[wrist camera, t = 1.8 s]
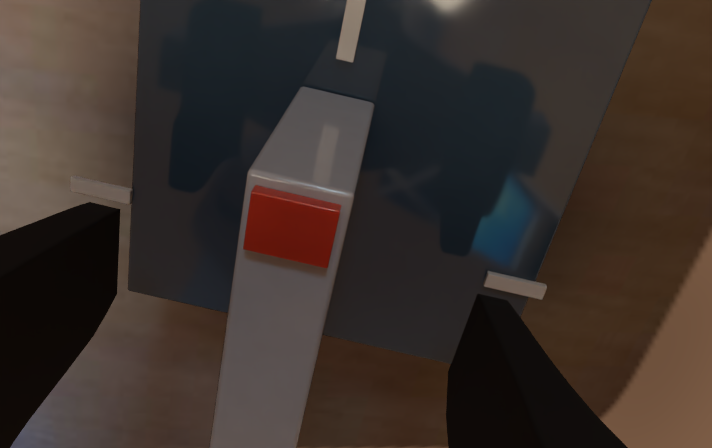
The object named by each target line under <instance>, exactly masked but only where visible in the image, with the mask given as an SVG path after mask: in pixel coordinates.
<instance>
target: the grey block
mask: <svg viewBox="0 0 712 448" xmlns="http://www.w3.org/2000/svg"><path fill="white" fill-rule="evenodd" d="M374 109H375V107H374V104H373V103H371V102H368V101H364V100H359V99H355V98H351V97H346V96H342V95H338V94H334V93H329V92H325V91H321V90H316V89H312V88H308V87H300V89H299V90H298V92H297V94H296V95H295V97H294V98H293V100H292V102H291V103H290V105H289V106H288V108H287V110H286V111H285V113H284V114H283V116H282V118H281V119H280V121H279V122H278V124H277V126H276V127H275V129H274V130H273V132H272V134H271V135H270V137H269V138H268V140H267V142H266V143H265V145H264V146H263V148H262V150H261V151H260V153H259V154H258V156H257V158H256V159H255V161H254V162H253V164H252V166H251V167H250V169H249V171H248V172H247V178H246V185H245V192H244V199H243V207H242V214H241V221H240V228H239V235H238V243H237V250H236V257H235V264H234V272H233V279H232V286H231V293H230V301H229V308H228V315H227V322H226V330H225V337H224V344H223V351H222V358H221V366H220V373H219V380H218V387H217V395H216V402H215V409H214V416H213V424H212V431H211V438H210V445H209V448H296V447H297V443H298V438H299V434H300V430H301V426H302V421H303V417H304V413H305V408H306V404H307V400H308V395H309V391H310V387H311V382H312V378H313V374H314V369H315V365H316V361H317V357H318V352H319V348H320V344H321V339H322V335H323V331H324V326H325V322H326V318H327V313H328V309H329V305H330V300H331V296H332V292H333V288H334V283H335V279H336V275H337V270H338V266H339V262H340V257H341V253H342V249H343V244H344V240H345V236H346V231H347V227H348V223H349V218H350V214H351V210H352V206H353V201H354V197H355V193H356V188H357V184H358V179H359V175H360V171H361V166H362V162H363V157H364V153H365V148H366V144H367V140H368V135H369V131H370V126H371V122H372V118H373V113H374Z"/></svg>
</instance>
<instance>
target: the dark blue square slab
mask: <svg viewBox="0 0 712 448" xmlns="http://www.w3.org/2000/svg"><path fill="white" fill-rule="evenodd" d="M651 1H652V0H140V21H139V44H138V67H137V90H136V113H135V136H134V159H133V182H132V189H131V188H127V187H122V186H118V185H114V184H109V183H105V182H101V181H96V180H92V179H88V178H83V177H79V176H75V175H73V176H72V177H71V178H70V191H71V192H76V193H80V194H84V195H89V196H93V197H97V198H102V199H106V200H111V201H115V202H119V203H124V204H128V205H130V204H131V203H132V205H131V228H130V251H129V274H128V290H129V291H133V292H138V293H142V294H147V295H151V296H155V297H160V298H164V299H168V300H173V301H177V302H182V303H186V304H190V305H195V306H199V307H203V308H208V309H212V310H217V311H221V312H225V313H228V308H229V301H230V293H231V286H232V279H233V272H234V264H235V257H236V250H237V243H238V235H239V228H240V221H241V214H242V207H243V199H244V192H245V185H246V178H247V172H248V171H249V169H250V167H251V166H252V164H253V162H254V161H255V159H256V158H257V156H258V154H259V153H260V151H261V150H262V148H263V146H264V145H265V143H266V142H267V140H268V138H269V137H270V135H271V134H272V132H273V130H274V129H275V127H276V126H277V124H278V122H279V121H280V119H281V118H282V116H283V114H284V113H285V111H286V110H287V108H288V106H289V105H290V103H291V102H292V100H293V98H294V97H295V95H296V94H297V92H298V90H299V89H300V87H308V88H312V89H316V90H321V91H325V92H329V93H334V94H338V95H342V96H346V97H351V98H355V99H359V100H364V101H368V102H371V103H373V104H374V107H375V109H374V113H373V118H372V122H371V126H370V131H369V135H368V140H367V144H366V148H365V153H364V157H363V162H362V166H361V171H360V175H359V179H358V184H357V188H356V193H355V197H354V201H353V206H352V210H351V214H350V218H349V223H348V227H347V231H346V236H345V240H344V244H343V249H342V253H341V257H340V262H339V266H338V270H337V275H336V279H335V283H334V288H333V292H332V296H331V300H330V305H329V309H328V313H327V318H326V322H325V326H324V331H323V335H326V336H330V337H335V338H339V339H344V340H348V341H352V342H357V343H361V344H366V345H370V346H374V347H379V348H383V349H387V350H392V351H396V352H401V353H405V354H409V355H414V356H418V357H422V358H427V359H431V360H436V361H440V362H444V363H449V364H451V363H452V360H453V358H454V355H455V352H456V350H457V347H458V344H459V342H460V339H461V336H462V334H463V331H464V328H465V326H466V323H467V320H468V318H469V315H470V312H471V310H472V307H473V304H474V302H475V299H476V296H477V294H482V295H486V296H491V297H495V298H499V299H503V300H508V302H509V303H510V304H511V305H512V307H513V308H514V310H515V311H516V312H517V314H518V315H519V317H521V315H522V312H523V310H524V307H525V305H526V303H527V300H528V298H529V297H532V298H536V299H541V300H542V298H543V296H544V294H545V291H546V289H547V286H546V284H543V283H539V282H535V281H536V279H537V276H538V274H539V271H540V269H541V266H542V264H543V262H544V259H545V257H546V254H547V252H548V250H549V247H550V245H551V242H552V240H553V238H554V235H555V233H556V230H557V228H558V225H559V223H560V221H561V218H562V216H563V213H564V211H565V209H566V206H567V204H568V201H569V199H570V196H571V194H572V192H573V189H574V187H575V184H576V182H577V180H578V177H579V175H580V172H581V170H582V168H583V165H584V163H585V160H586V158H587V155H588V153H589V151H590V148H591V146H592V143H593V141H594V139H595V136H596V134H597V131H598V129H599V126H600V124H601V122H602V119H603V117H604V114H605V112H606V110H607V107H608V105H609V102H610V100H611V98H612V95H613V93H614V90H615V88H616V85H617V83H618V81H619V78H620V76H621V73H622V71H623V69H624V66H625V64H626V61H627V59H628V56H629V54H630V52H631V49H632V47H633V44H634V42H635V40H636V37H637V35H638V32H639V30H640V28H641V25H642V23H643V20H644V18H645V15H646V13H647V11H648V8H649V6H650V3H651Z"/></svg>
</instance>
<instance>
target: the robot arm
mask: <svg viewBox="0 0 712 448" xmlns="http://www.w3.org/2000/svg"><path fill="white" fill-rule="evenodd" d="M119 226H120V209H116V208H112V207H108V206H104V205H99V204H95V203H91V202H89V203H86V204H82V205H79V206H76V207H73V208H70V209H68V210H65V211H62V212H60V213H57V214H55V215H52V216H49V217H47V218H44V219H42V220H39V221H37V222H34V223H31V224H29V225H26V226H24V227H21V228H18V229H16V230H13V231H10V232H8V233H5V234H3V235H0V448H10V447H11V445H12V444H13V442H14V440H15V439H16V438H17V436H18V435H19V433H20V432H21V430H22V429H23V428H24V426H25V425H26V423H27V422H28V421H29V419H30V418H31V417H32V415H33V414H34V413H35V411H36V410H37V409H38V408H39V406H40V405H41V404H42V402H43V401H44V400H45V399H46V397H47V396H48V395H49V393H50V392H51V391H52V389H53V388H54V387H55V386H56V384H57V383H58V382H59V380H60V379H61V378H62V376H63V375H64V374H65V373H66V371H67V370H68V369H69V367H70V366H71V365H72V363H73V362H74V361H75V359H76V358H77V357H78V356H79V354H80V353H81V352H82V350H83V349H84V348H85V346H86V345H87V344H88V342H89V341H90V340H91V338H92V337H93V335H94V334H95V332H96V331H97V329H98V327H99V325H100V324H101V322H102V320H103V318H104V317H105V315H106V313H107V311H108V309H109V308H110V306H111V304H112V302H113V300H114V298H115V296H116V295H117V277H118V252H119ZM446 419H447V433H448V445H449V448H627V447H626V446H625V445H624V444H623V443H622V441H621V440H620V439H619V438H618V437H616V436H615V434H614V433H613V432H612V431H611V430H609V428H608V427H607V426H606V425H605V424H604V423H603V422H602V421H601V420H600V419H599V418H598V417H597V416H596V415H595V414H594V412H593V411H592V410H591V409H590V408H589V407H588V406H587V404H586V403H585V402H584V401H583V400H582V398H581V397H580V396H579V395H578V394H577V393H576V391H575V390H574V389H573V388H572V387H571V385H570V384H569V383H568V382H567V380H566V379H565V378H564V377H563V375H562V374H561V373H560V372H559V370H558V369H557V368H556V366H555V365H554V364H553V362H552V361H551V360H550V358H549V357H548V356H547V354H546V353H545V352H544V350H543V349H542V348H541V346H540V345H539V343H538V342H537V341H536V339H535V338H534V336H533V335H532V334H531V332H530V331H529V329H528V328H527V326H526V325H525V324H524V322H523V321H522V319H521V318H520V317H519V315H518V314H517V312H516V311H515V310H514V308H513V307H512V305H511V304H510V303H509V302H508V300H503V299H499V298H495V297H491V296H486V295H482V294H477V296H476V299H475V302H474V304H473V307H472V310H471V312H470V315H469V318H468V320H467V323H466V326H465V328H464V331H463V334H462V336H461V339H460V342H459V344H458V347H457V350H456V352H455V355H454V358H453V360H452V363H451V366H450V368H449V371H448V388H447V409H446Z"/></svg>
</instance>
